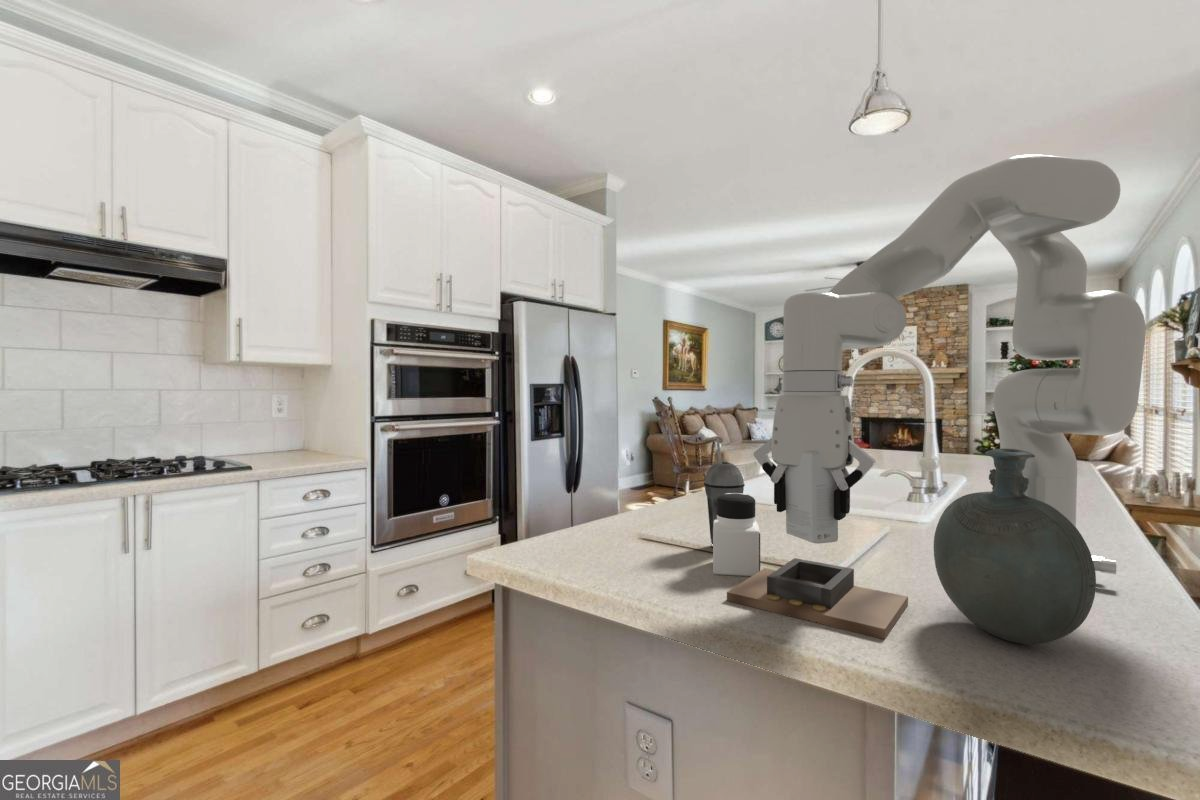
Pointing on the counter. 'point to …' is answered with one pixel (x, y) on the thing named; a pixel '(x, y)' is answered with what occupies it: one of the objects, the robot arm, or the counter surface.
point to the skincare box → (810, 501)
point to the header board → (821, 597)
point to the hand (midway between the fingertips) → (810, 513)
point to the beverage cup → (721, 485)
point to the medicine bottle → (736, 536)
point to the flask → (1014, 559)
